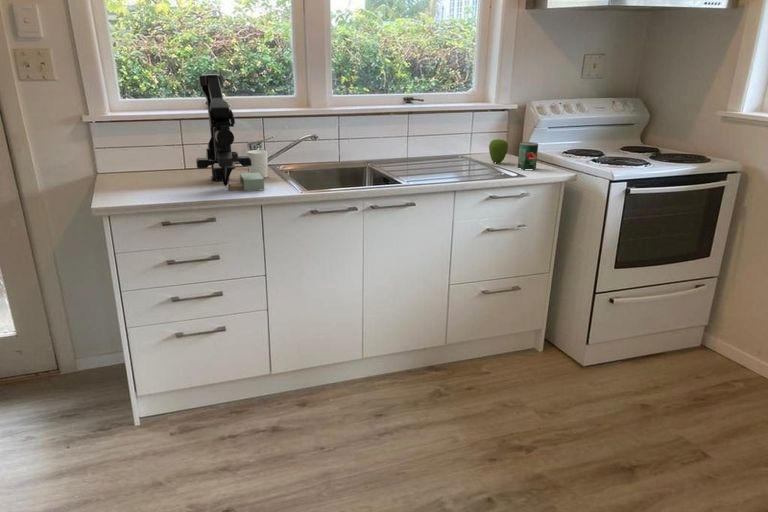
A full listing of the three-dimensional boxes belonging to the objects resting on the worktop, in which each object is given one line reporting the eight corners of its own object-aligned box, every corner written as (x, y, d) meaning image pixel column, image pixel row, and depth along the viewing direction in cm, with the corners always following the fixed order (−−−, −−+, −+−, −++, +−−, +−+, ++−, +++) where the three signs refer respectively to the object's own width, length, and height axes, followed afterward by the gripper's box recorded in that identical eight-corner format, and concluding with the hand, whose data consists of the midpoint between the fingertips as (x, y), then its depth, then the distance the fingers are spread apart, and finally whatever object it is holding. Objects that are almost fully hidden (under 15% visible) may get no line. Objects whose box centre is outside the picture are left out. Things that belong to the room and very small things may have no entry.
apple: (506, 165, 263) (508, 139, 259) (487, 164, 265) (489, 138, 261) (507, 162, 271) (509, 137, 267) (488, 161, 273) (490, 136, 269)
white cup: (247, 175, 235) (245, 150, 232) (266, 174, 238) (265, 149, 235) (250, 179, 228) (248, 153, 225) (270, 178, 231) (269, 152, 228)
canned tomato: (532, 171, 251) (535, 145, 248) (515, 169, 255) (517, 143, 251) (538, 168, 258) (540, 143, 254) (520, 166, 262) (522, 141, 258)
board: (228, 187, 217) (228, 182, 216) (256, 186, 220) (255, 180, 219) (230, 191, 210) (230, 186, 210) (259, 190, 214) (258, 184, 213)
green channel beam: (240, 184, 220) (239, 173, 218) (259, 183, 222) (258, 172, 221) (244, 191, 209) (243, 179, 208) (264, 189, 211) (263, 178, 210)
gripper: (196, 146, 197) (200, 192, 202) (252, 144, 203) (255, 188, 208) (194, 142, 207) (198, 185, 212) (247, 140, 213) (250, 182, 218)
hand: (225, 185), depth 212 cm, fingers closed
